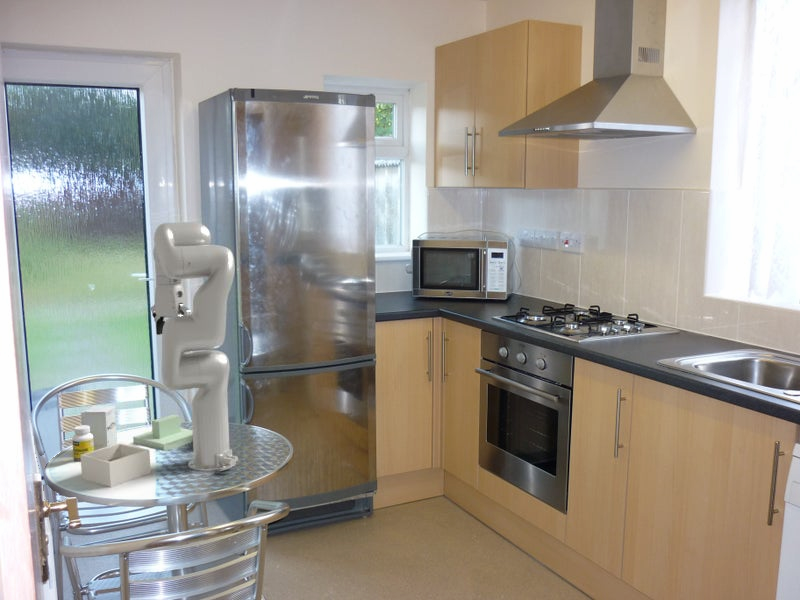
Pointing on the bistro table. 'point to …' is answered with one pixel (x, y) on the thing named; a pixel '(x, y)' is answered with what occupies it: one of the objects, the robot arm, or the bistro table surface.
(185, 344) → the robot arm
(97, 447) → the supplement box
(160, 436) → the lid
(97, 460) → the storage box
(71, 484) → the bistro table surface
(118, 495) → the bistro table surface
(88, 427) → the supplement bottle
